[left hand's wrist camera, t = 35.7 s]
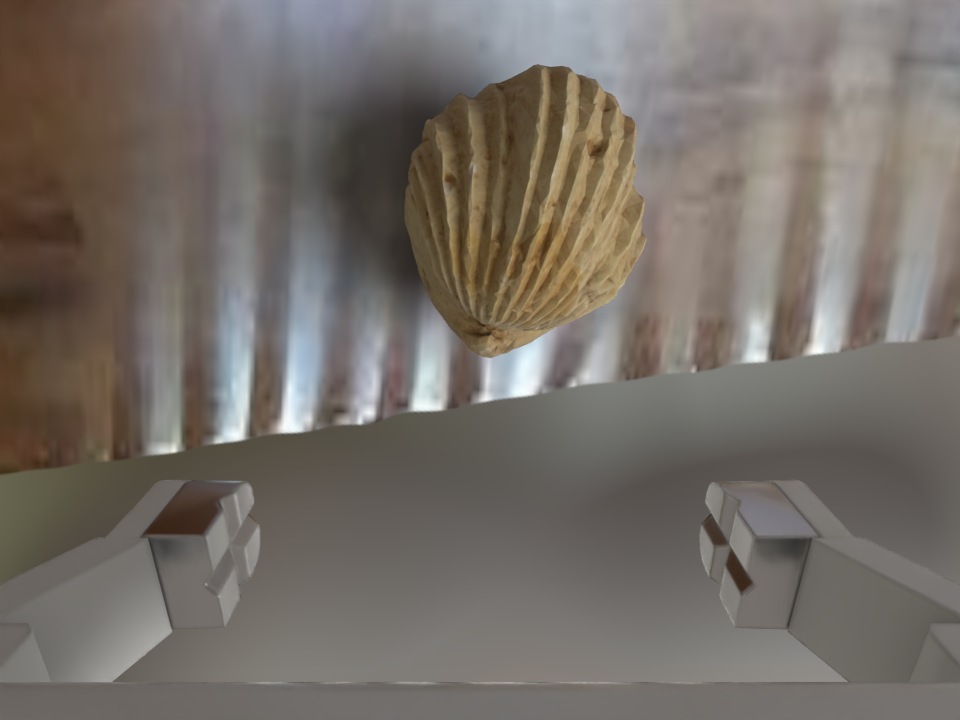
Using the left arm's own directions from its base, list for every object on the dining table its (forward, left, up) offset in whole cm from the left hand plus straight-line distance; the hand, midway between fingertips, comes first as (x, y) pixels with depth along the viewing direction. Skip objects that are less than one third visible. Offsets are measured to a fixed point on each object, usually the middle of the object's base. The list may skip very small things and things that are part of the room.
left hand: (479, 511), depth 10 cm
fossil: (-3, 0, -34) cm, 34 cm away
